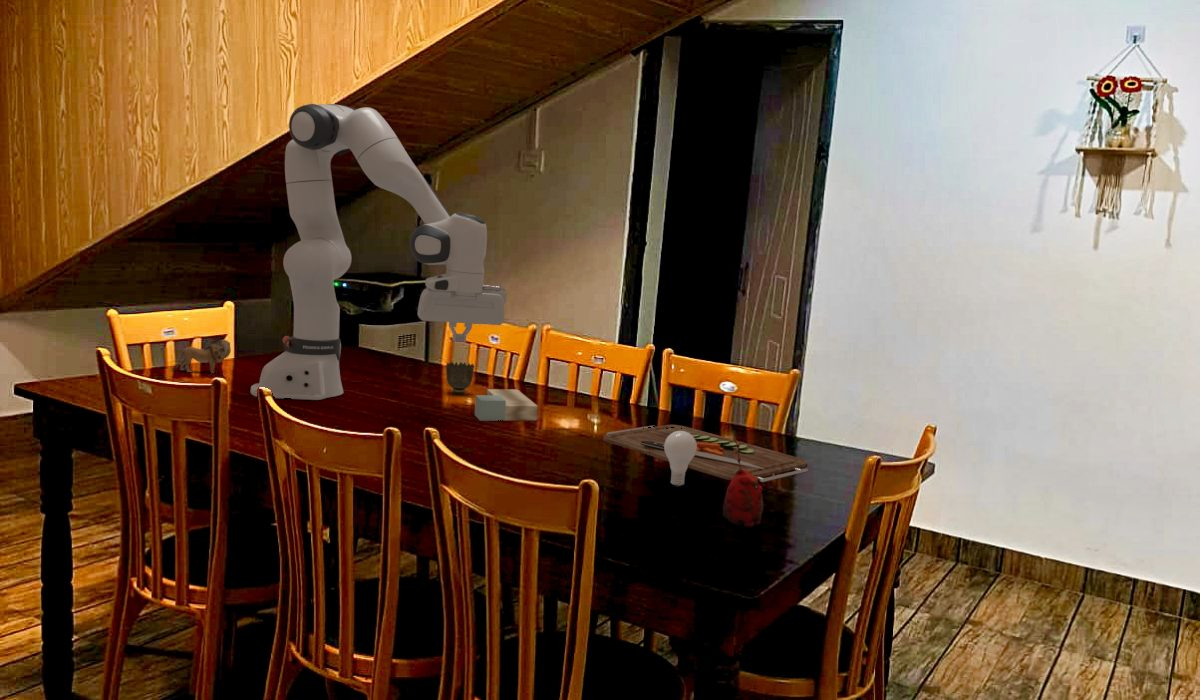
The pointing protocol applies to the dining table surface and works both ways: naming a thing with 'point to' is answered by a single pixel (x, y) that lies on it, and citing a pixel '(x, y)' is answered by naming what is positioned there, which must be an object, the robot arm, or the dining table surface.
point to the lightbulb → (679, 454)
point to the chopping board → (710, 452)
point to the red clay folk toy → (743, 498)
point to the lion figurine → (205, 355)
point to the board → (516, 404)
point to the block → (490, 408)
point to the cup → (459, 376)
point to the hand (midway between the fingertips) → (459, 341)
